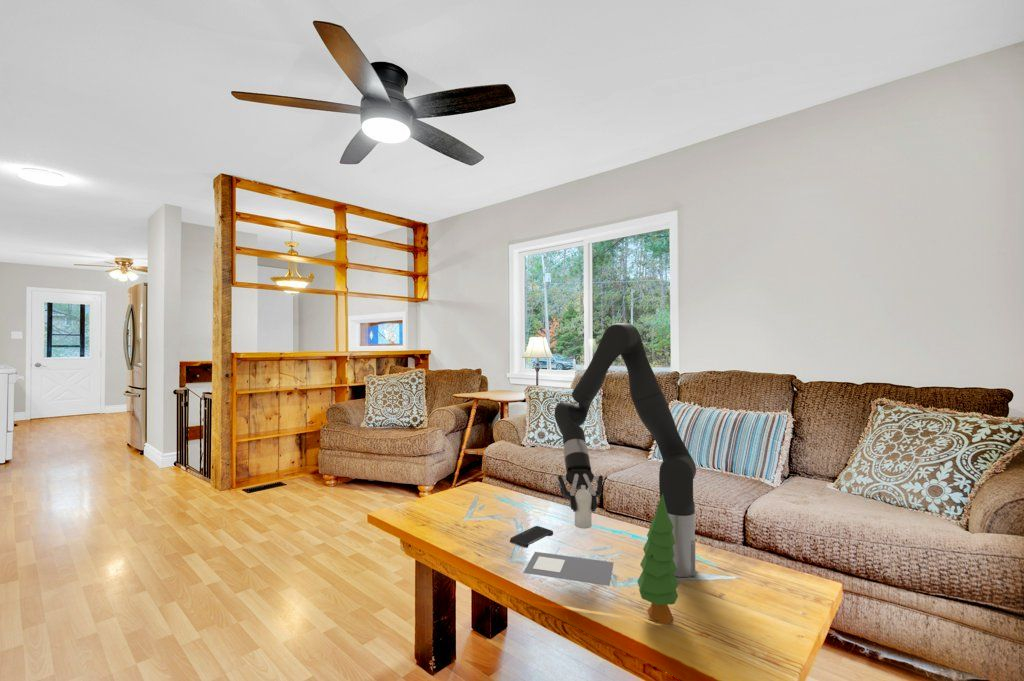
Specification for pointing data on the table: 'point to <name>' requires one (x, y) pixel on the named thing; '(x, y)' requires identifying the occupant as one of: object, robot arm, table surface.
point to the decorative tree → (659, 567)
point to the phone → (531, 536)
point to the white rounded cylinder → (583, 508)
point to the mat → (570, 568)
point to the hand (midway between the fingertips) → (584, 510)
